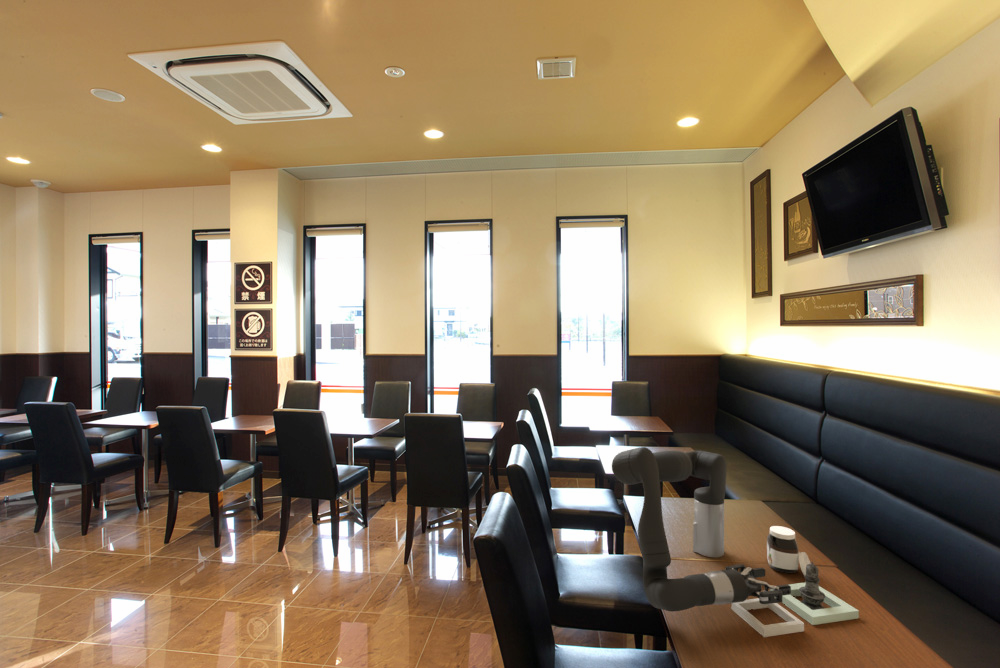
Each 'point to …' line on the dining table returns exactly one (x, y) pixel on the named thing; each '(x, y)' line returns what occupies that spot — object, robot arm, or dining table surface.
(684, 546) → the dining table surface
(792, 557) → the spread jar
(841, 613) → the light green square frame
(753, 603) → the white square frame
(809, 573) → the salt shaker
